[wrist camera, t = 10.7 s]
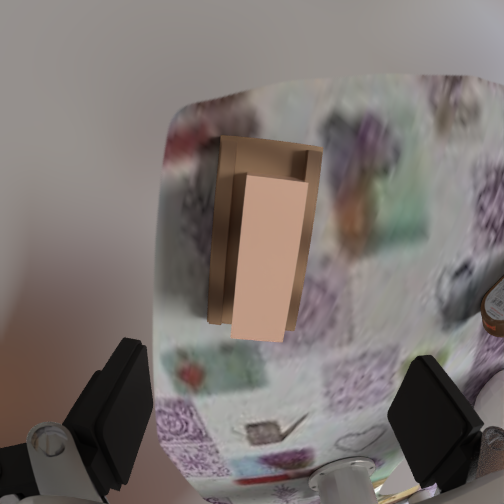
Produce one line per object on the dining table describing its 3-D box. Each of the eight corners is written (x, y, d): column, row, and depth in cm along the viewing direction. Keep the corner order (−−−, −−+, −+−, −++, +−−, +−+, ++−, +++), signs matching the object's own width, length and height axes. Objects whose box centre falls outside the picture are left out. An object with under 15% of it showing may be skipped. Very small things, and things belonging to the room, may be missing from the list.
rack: (293, 324, 31) (296, 335, 29) (208, 316, 31) (205, 327, 28) (320, 147, 26) (326, 146, 24) (221, 136, 25) (219, 133, 23)
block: (293, 177, 25) (308, 182, 19) (275, 302, 29) (282, 342, 22) (247, 172, 25) (246, 175, 19) (234, 298, 29) (230, 338, 22)
